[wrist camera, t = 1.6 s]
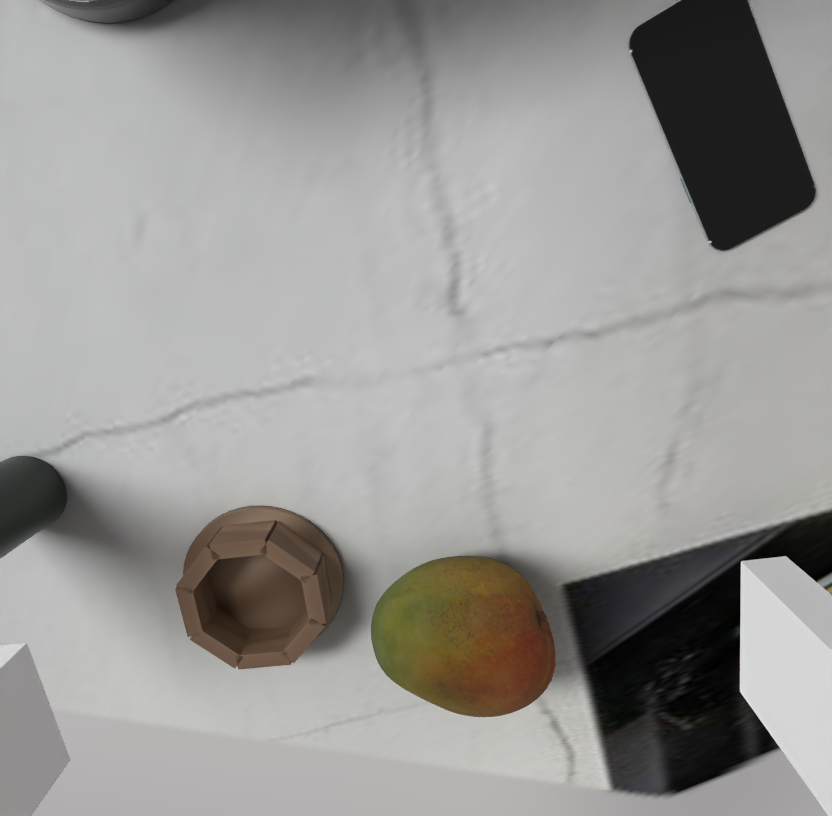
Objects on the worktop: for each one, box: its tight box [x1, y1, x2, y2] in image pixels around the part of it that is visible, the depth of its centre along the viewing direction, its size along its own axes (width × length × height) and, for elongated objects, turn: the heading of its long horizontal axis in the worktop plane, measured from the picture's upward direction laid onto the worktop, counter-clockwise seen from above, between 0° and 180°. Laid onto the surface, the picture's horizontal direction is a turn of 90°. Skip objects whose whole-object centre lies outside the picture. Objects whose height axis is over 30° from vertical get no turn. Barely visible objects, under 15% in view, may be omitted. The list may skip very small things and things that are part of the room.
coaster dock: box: [176, 506, 344, 669], centre depth 43 cm, size 12×12×4 cm
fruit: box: [371, 556, 555, 717], centre depth 41 cm, size 12×13×10 cm
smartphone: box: [628, 0, 815, 250], centre depth 36 cm, size 7×1×15 cm
